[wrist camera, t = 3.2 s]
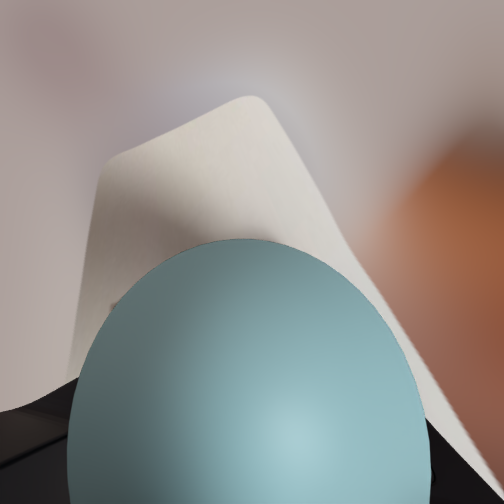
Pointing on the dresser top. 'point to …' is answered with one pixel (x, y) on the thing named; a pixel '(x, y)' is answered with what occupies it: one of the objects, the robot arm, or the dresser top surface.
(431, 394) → the dresser top surface
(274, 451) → the teal post
